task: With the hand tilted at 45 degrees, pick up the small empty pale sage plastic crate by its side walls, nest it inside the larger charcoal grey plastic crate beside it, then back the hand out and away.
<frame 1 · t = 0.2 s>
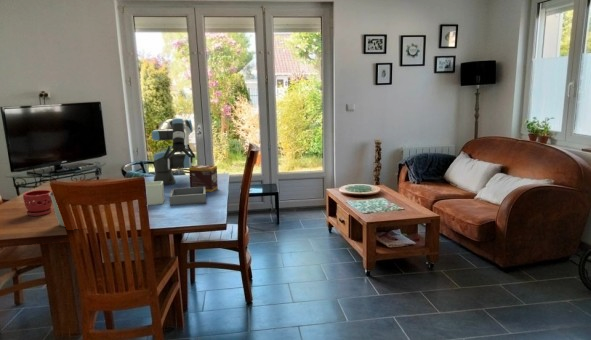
hand: (179, 167, 255), 16 cm above the table, tool tilted 35°, fingers open, 13 cm apart
supplement box: (204, 189, 260), on the table, touching gripper
canister: (74, 224, 194), on the table
large crate: (188, 200, 234), on the table
plant pot: (40, 214, 213), on the table
small crate: (154, 202, 231), on the table
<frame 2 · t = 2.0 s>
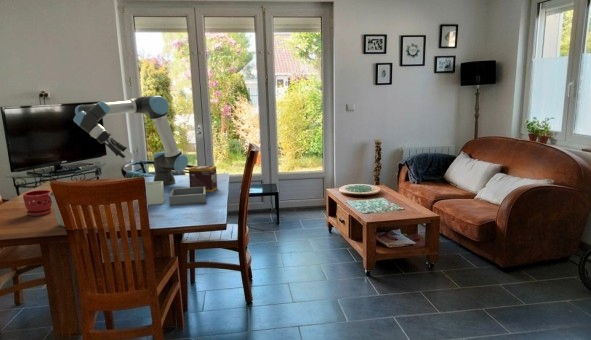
hand: (131, 159, 224), 26 cm above the table, tool tilted 45°, fingers open, 13 cm apart
supplement box: (204, 190, 260), on the table
everything else where it was.
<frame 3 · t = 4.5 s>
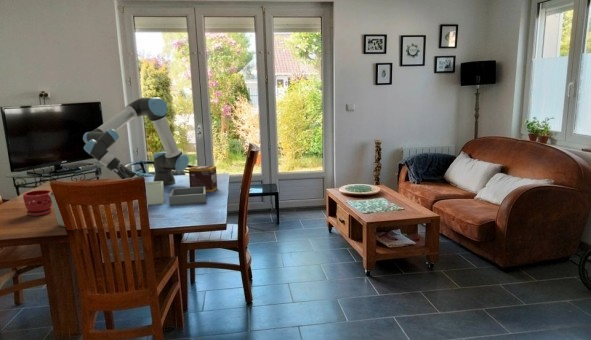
hand: (140, 185, 227), 11 cm above the table, tool tilted 45°, fingers open, 13 cm apart
nothing on the table moved.
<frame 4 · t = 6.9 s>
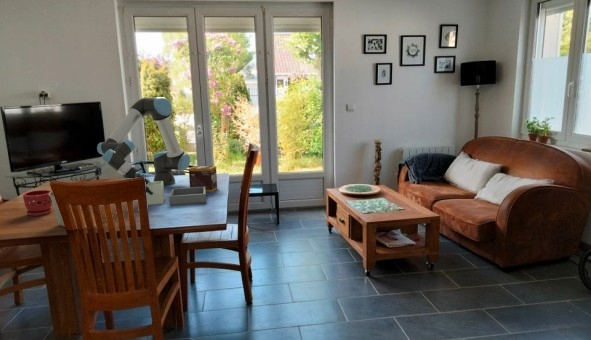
hand: (158, 195, 231), 4 cm above the table, tool tilted 45°, fingers closed on small crate, 11 cm apart
small crate: (154, 202, 231), on the table, touching gripper
everything else where it was.
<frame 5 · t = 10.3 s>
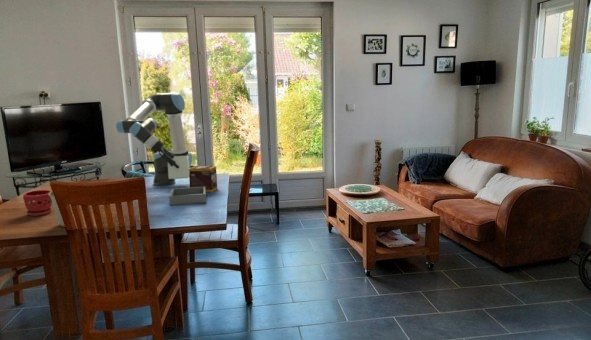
hand: (184, 169, 230), 19 cm above the table, tool tilted 45°, fingers closed on small crate, 11 cm apart
small crate: (179, 176, 230), point 15 cm above the table, touching gripper
everything else where it was.
when the fingers open (6 cm above the table, at t = 13.7 s): small crate drops 1 cm, resting on large crate.
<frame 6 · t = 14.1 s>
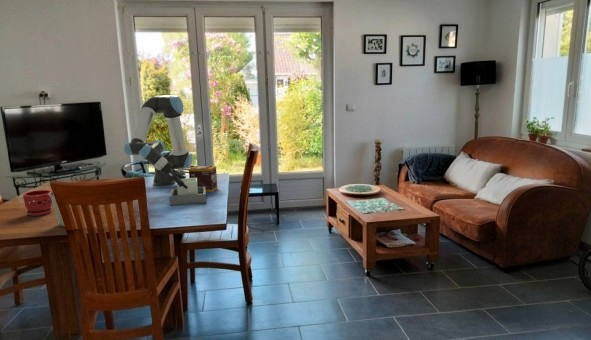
hand: (192, 189, 234), 7 cm above the table, tool tilted 45°, fingers open, 13 cm apart
small crate: (188, 198, 234), point 1 cm above the table, touching large crate
everything else where it was.
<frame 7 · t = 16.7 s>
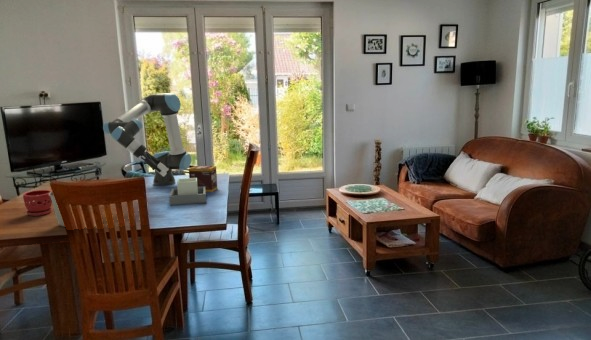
hand: (166, 172, 230), 17 cm above the table, tool tilted 45°, fingers open, 13 cm apart
nothing on the table moved.
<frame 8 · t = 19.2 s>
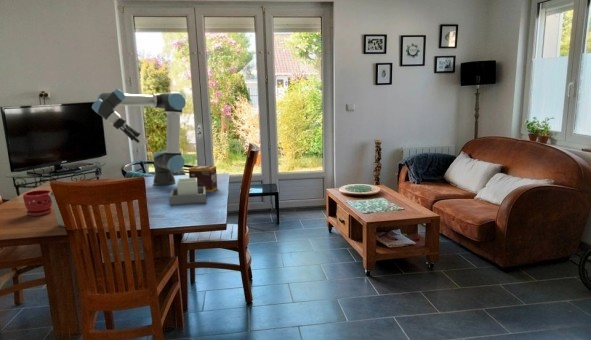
hand: (145, 144, 242), 33 cm above the table, tool tilted 45°, fingers open, 13 cm apart
nothing on the table moved.
at the end: small crate inside the target area on the large crate (0.1 cm from its centre), point 0.8 cm above the large crate's base; small crate tilted 0°; the gripper is holding nothing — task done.
